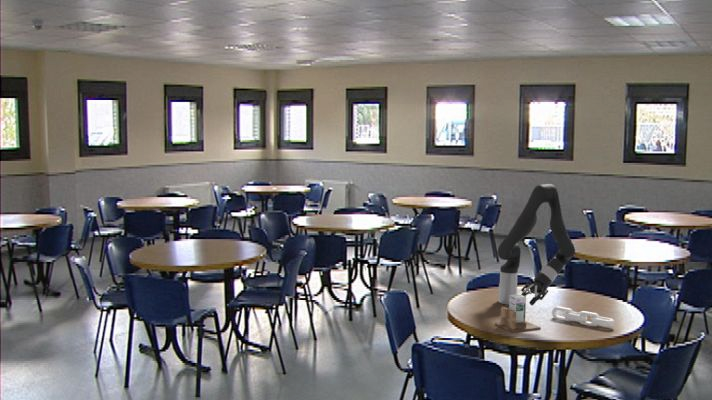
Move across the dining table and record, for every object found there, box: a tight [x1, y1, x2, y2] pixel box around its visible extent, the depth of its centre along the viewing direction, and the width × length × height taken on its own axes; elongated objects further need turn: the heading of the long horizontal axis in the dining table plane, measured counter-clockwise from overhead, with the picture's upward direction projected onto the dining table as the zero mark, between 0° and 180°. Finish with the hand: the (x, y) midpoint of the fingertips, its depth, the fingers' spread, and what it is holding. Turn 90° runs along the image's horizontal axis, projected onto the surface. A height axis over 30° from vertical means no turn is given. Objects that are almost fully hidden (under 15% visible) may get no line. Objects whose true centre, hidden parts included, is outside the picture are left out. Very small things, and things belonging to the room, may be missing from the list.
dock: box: [494, 306, 541, 334], centre depth 332 cm, size 14×16×9 cm
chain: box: [551, 306, 615, 328], centre depth 341 cm, size 30×6×6 cm, turn 53°
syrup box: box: [508, 293, 527, 323], centre depth 331 cm, size 6×6×14 cm
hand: (525, 302), depth 333 cm, fingers open, 8 cm apart
